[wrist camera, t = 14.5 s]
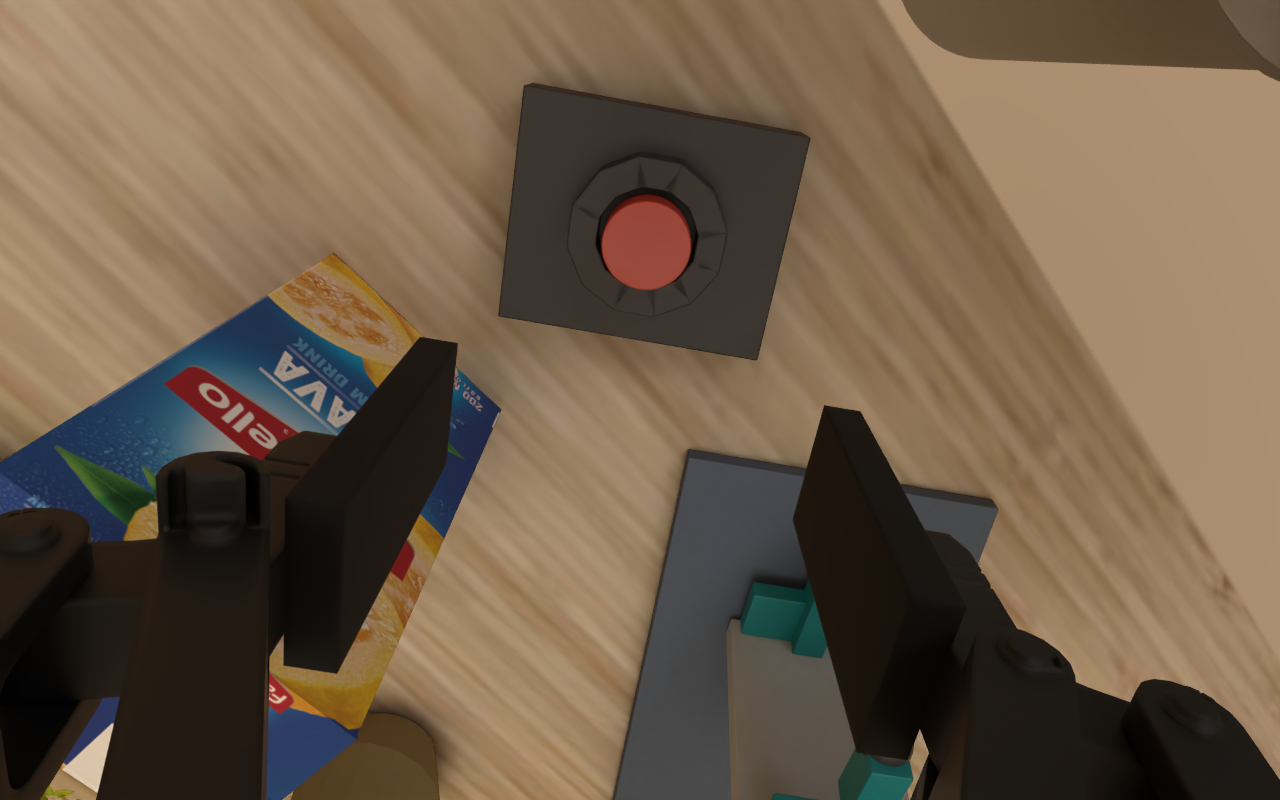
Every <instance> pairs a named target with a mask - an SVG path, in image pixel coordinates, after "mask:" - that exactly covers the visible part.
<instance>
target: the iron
mask: <svg viewBox="0 0 1280 800" xmlns="http://www.w3.org/2000/svg"><path fill="white" fill-rule="evenodd" d="M726 642H727V674H728V706H729V738H730V770H731V800H909V798H908V793H907V789H908V788H909V786H910V785H911V783H912V781H913V775H912V770H911V766H910V761H909V760H910V759H911V757H912V754H913V749H914V745H913V747H912V750H911V753H910V755H909V758H908V760H902V759H896V758H889V757H882V756H876V755H869V754H863V753H857V752H856V748H855V745H854V741H853V737H852V734H851V730H850V727H849V723H848V719H847V716H846V712H845V708H844V705H843V701H842V697H841V694H840V690H839V687H838V683H837V679H836V676H835V672H834V668H833V665H832V661H831V658H830V654H829V650H828V647H827V643H826V639H825V636H824V632H823V629H822V625H821V621H820V618H819V614H818V610H817V607H816V603H815V600H814V596H813V592H812V589H811V585H810V581H809V579H808V582H807V585H806V587H805V590H802V589H795V588H789V587H783V586H777V585H770V584H764V583H758V582H753V584H752V587H751V590H750V593H749V596H748V599H747V602H746V605H745V607H744V610H743V613H742V616H741V619H740V620H736V619H731V620H730V623H729V626H728V629H727V632H726Z"/></svg>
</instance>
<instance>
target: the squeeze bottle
mask: <svg viewBox="0 0 1280 800" xmlns="http://www.w3.org/2000/svg"><path fill="white" fill-rule="evenodd" d="M291 800H440V797H439V786H438V775H437V764H436V755H435V751H434V746H433V742H432V740H431V739H430V738H429V736H428V735H427V734H426V733H425V731H424V730H423V729H422V728H421V727H420V726H418V725H416V724H415V723H413V722H412V721H410V720H408V719H407V718H404V717H400V716H396V715H393V714H389V713H377V714H366V717H365V719H364V721H363V723H362V726H361V728H360V730H359V732H358V739H357V740H356V741H355V742H353V743H352V744H351V745H350V746H348V747H347V748H346V749H345V750H344V751H342V752H341V753H340V754H339V755H337V756H336V757H335V758H334V759H332V760H331V761H330V762H329V763H327V764H326V765H325V766H324V767H322V768H321V769H320V770H319V771H317V772H316V773H315V774H314V775H312V776H311V777H310V778H309V779H307V780H306V781H305V782H304V783H302V784H301V785H300V786H299V787H297V788H296V789H295V790H294V792H293V795H292V798H291Z"/></svg>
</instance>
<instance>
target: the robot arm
mask: <svg viewBox="0 0 1280 800" xmlns="http://www.w3.org/2000/svg"><path fill="white" fill-rule="evenodd" d="M457 345H458V343H453V342H447V341H441V340H435V339H430V338H424V337H419V339H418V340H417V341H416V342H415V343H414V345H413V346H412V347H411V348H410V349H409V351H408V352H407V353H406V354H405V355H404V357H403V358H402V359H401V360H400V361H399V363H398V364H397V365H396V366H395V367H394V368H393V370H392V371H391V372H390V373H389V374H388V376H387V377H386V378H385V379H384V380H383V382H382V383H381V384H380V385H379V386H378V388H377V389H376V390H375V391H374V392H373V394H372V395H371V396H370V397H369V398H368V400H367V401H366V402H365V403H364V404H363V406H362V407H361V408H360V409H359V410H358V412H357V413H356V414H355V415H354V416H353V418H352V419H351V420H350V421H349V422H348V424H347V425H346V426H345V427H344V428H343V430H342V431H341V432H340V433H339V434H338V435H337V436H336V435H330V434H324V433H317V432H311V431H305V430H304V431H302V432H300V433H297V434H295V435H293V436H291V437H288V438H286V439H284V440H282V441H279V442H278V443H277V445H276V446H275V447H274V448H273V449H272V450H271V451H270V452H269V453H268V454H267V455H266V456H265V459H264V460H263V459H262V460H259V459H258V458H256V457H254V456H250V455H247V454H243V453H240V452H229V451H209V452H198V453H193V454H190V455H186V456H183V457H179V458H176V459H174V460H173V461H171V462H169V463H167V464H166V465H164V466H162V468H161V469H160V470H159V472H158V473H157V475H156V476H155V477H156V495H157V513H158V531H159V532H158V536H157V538H154V539H145V540H133V541H100V542H92V541H91V530H90V526H89V524H88V522H87V520H86V518H84V517H82V516H81V515H79V514H77V513H75V512H73V511H68V510H63V509H58V508H35V507H33V508H24V509H22V510H19V509H18V510H13V511H9V512H6V513H3V514H0V800H40V799H41V797H42V796H43V794H44V793H45V791H46V789H47V788H48V786H49V785H50V783H51V781H52V780H53V778H54V777H55V775H56V774H57V772H58V770H59V769H60V767H61V766H62V764H63V762H64V761H65V759H66V758H67V756H68V754H69V753H70V751H71V750H72V748H73V746H74V745H75V743H76V742H77V740H78V739H79V737H80V735H81V734H82V732H83V731H84V729H85V727H86V726H87V724H88V723H89V721H90V719H91V718H92V716H93V715H94V713H95V711H96V710H97V708H98V707H99V705H100V704H101V701H102V698H112V697H120V699H119V703H118V708H117V712H116V716H115V721H114V725H113V729H112V733H111V738H110V742H109V746H108V751H107V755H106V759H105V764H104V768H103V772H102V776H101V781H100V785H99V789H98V794H97V798H96V800H266V793H267V755H268V717H269V675H270V655H271V654H272V652H273V651H274V649H275V647H276V646H277V644H278V643H279V641H280V640H281V638H282V637H283V635H284V649H283V666H289V667H295V668H302V669H309V670H315V671H322V672H328V673H335V674H337V673H338V671H339V669H340V667H341V666H342V664H343V662H344V660H345V658H346V656H347V654H348V652H349V650H350V648H351V646H352V644H353V642H354V640H355V639H356V637H357V635H358V633H359V631H360V629H361V627H362V625H363V623H364V621H365V619H366V617H367V615H368V613H369V612H370V610H371V608H372V606H373V604H374V602H375V600H376V598H377V596H378V594H379V592H380V590H381V588H382V586H383V585H384V583H385V581H386V579H387V577H388V575H389V573H390V571H391V569H392V567H393V565H394V563H395V561H396V559H397V558H398V556H399V554H400V552H401V550H402V548H403V546H404V544H405V542H406V540H407V538H408V536H409V534H410V532H411V531H412V529H413V527H414V525H415V523H416V521H417V519H418V517H419V515H420V513H421V511H422V509H423V507H424V505H425V504H426V502H427V500H428V498H429V496H430V494H431V492H432V490H433V488H434V486H435V484H436V482H437V480H438V478H439V477H440V475H441V473H442V471H443V469H444V467H445V465H446V463H447V452H448V441H449V430H450V420H451V409H452V398H453V388H454V377H455V366H456V356H457ZM793 523H794V527H795V531H796V534H797V538H798V541H799V545H800V549H801V552H802V556H803V560H804V563H805V567H806V570H807V574H808V578H809V581H810V585H811V589H812V592H813V596H814V600H815V603H816V607H817V610H818V614H819V618H820V621H821V625H822V629H823V632H824V636H825V639H826V643H827V647H828V650H829V654H830V658H831V661H832V665H833V668H834V672H835V676H836V679H837V683H838V687H839V690H840V694H841V697H842V701H843V705H844V708H845V712H846V716H847V719H848V723H849V727H850V730H851V734H852V737H853V741H854V745H855V748H856V752H857V753H863V754H869V755H876V756H882V757H889V758H896V759H902V760H908V758H909V755H910V753H911V750H912V747H913V745H914V742H915V740H916V737H917V735H918V732H919V729H920V730H921V733H922V735H923V738H924V741H925V743H926V746H927V749H928V751H929V755H928V757H927V760H926V762H925V765H924V767H923V770H922V772H921V775H920V777H919V780H918V782H917V785H916V787H915V790H914V792H913V795H912V797H911V800H1280V780H1279V778H1278V777H1277V775H1276V774H1275V772H1274V771H1273V769H1272V768H1271V766H1270V765H1269V764H1268V762H1267V761H1266V759H1265V758H1264V756H1263V755H1262V753H1261V752H1260V750H1259V749H1258V748H1257V746H1256V745H1255V743H1254V742H1253V740H1252V739H1251V737H1250V736H1249V734H1248V733H1247V731H1246V730H1245V729H1244V727H1243V726H1242V725H1241V724H1240V723H1239V722H1238V721H1237V719H1236V718H1235V717H1234V716H1233V715H1232V714H1231V713H1230V712H1229V711H1227V710H1226V709H1225V708H1223V707H1222V706H1221V705H1219V704H1218V703H1216V702H1215V700H1214V699H1212V698H1211V697H1209V696H1207V695H1206V694H1204V693H1202V694H1201V693H1199V692H1200V691H1198V690H1196V689H1193V688H1191V687H1188V686H1183V685H1180V684H1177V683H1174V682H1172V681H1165V680H1157V679H1152V680H1148V681H1144V682H1141V684H1140V685H1139V687H1138V688H1137V690H1136V692H1135V694H1134V696H1133V698H1132V700H1131V702H1127V701H1125V700H1122V699H1119V698H1116V697H1113V696H1111V695H1108V694H1105V693H1102V692H1099V691H1097V690H1094V689H1091V688H1088V687H1086V686H1083V685H1081V684H1079V683H1076V680H1075V674H1074V672H1073V669H1072V667H1071V664H1070V663H1069V662H1068V660H1067V659H1066V658H1065V657H1064V656H1063V655H1062V654H1061V653H1060V652H1059V651H1058V650H1057V649H1055V648H1054V647H1053V646H1051V645H1050V644H1048V643H1047V642H1045V641H1044V640H1042V639H1040V638H1038V637H1036V636H1034V635H1032V634H1030V633H1027V632H1025V631H1023V630H1019V629H1017V628H1016V626H1015V625H1014V623H1013V621H1012V620H1011V618H1010V616H1009V615H1008V613H1007V612H1006V610H1005V608H1004V607H1003V605H1002V603H1001V602H1000V600H999V598H998V597H997V595H996V593H995V592H994V590H993V589H990V586H991V585H990V584H989V582H988V580H987V579H986V577H985V575H984V574H981V569H980V567H979V566H978V564H977V562H976V561H975V559H974V557H973V556H972V554H971V552H970V551H969V550H967V549H966V548H965V547H964V546H963V545H961V544H960V543H959V542H958V541H957V540H956V539H954V538H953V537H952V536H951V535H950V534H948V533H941V532H935V531H929V530H925V529H924V527H923V525H922V524H921V522H920V520H919V518H918V516H917V514H916V513H915V511H914V509H913V507H912V505H911V503H910V502H909V500H908V498H907V496H906V494H905V492H904V491H903V489H902V487H901V485H900V483H899V481H898V480H897V478H896V476H895V474H894V472H893V470H892V468H891V467H890V465H889V463H888V461H887V459H886V457H885V456H884V454H883V452H882V450H881V448H880V446H879V445H878V443H877V441H876V439H875V437H874V435H873V434H872V432H871V430H870V428H869V426H868V424H867V423H866V421H865V419H864V417H863V415H862V413H861V411H855V410H849V409H843V408H837V407H831V406H825V405H824V408H823V412H822V415H821V419H820V423H819V426H818V430H817V433H816V437H815V441H814V444H813V448H812V451H811V455H810V459H809V462H808V466H807V469H806V473H805V477H804V480H803V484H802V487H801V491H800V494H799V498H798V502H797V505H796V509H795V512H794V516H793Z"/></svg>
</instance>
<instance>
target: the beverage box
mask: <svg viewBox="0 0 1280 800" xmlns="http://www.w3.org/2000/svg"><path fill="white" fill-rule="evenodd" d="M419 337H423V336H422V335H421V334H420V333H419V332H418V331H416V330H415V329H414V328H413V327H412V326H411V325H410V324H409V323H408V322H407V321H406V320H405V319H404V318H403V317H402V316H400V315H399V314H398V313H397V312H396V311H395V310H394V309H393V308H392V307H391V306H390V305H389V304H388V303H387V302H386V301H384V300H383V299H382V298H381V297H380V296H379V295H378V294H377V293H376V292H375V291H374V290H373V289H372V288H371V287H369V286H368V285H367V284H366V283H365V282H364V281H363V280H362V279H361V278H360V277H359V276H358V275H357V274H356V273H355V272H353V271H352V270H351V269H350V268H349V267H348V266H347V265H346V264H345V263H344V262H343V261H342V260H341V259H340V258H339V257H337V256H336V255H335V254H334V253H333V254H332V255H330V256H329V257H327V258H325V259H324V260H322V261H321V262H319V263H317V264H316V265H314V266H313V267H311V268H310V269H308V270H306V271H305V272H303V273H302V274H300V275H298V276H297V277H295V278H294V279H292V280H290V281H289V282H287V283H286V284H284V285H282V286H281V287H279V288H278V289H276V290H274V291H273V292H271V293H270V294H268V295H266V296H265V297H263V298H262V299H260V300H258V301H257V302H255V303H254V304H252V305H251V306H249V307H247V308H246V309H244V310H243V311H241V312H239V313H238V314H236V315H235V316H233V317H231V318H230V319H228V320H227V321H225V322H223V323H222V324H220V325H219V326H217V327H215V328H214V329H212V330H211V331H209V332H207V333H206V334H204V335H203V336H201V337H199V338H198V339H196V340H195V341H193V342H191V343H190V344H188V345H187V346H185V347H184V348H182V349H180V350H179V351H177V352H176V353H174V354H172V355H171V356H169V357H168V358H166V359H164V360H163V361H161V362H160V363H158V364H156V365H155V366H153V367H152V368H150V369H148V370H147V371H145V372H144V373H142V374H140V375H139V376H137V377H136V378H134V379H132V380H131V381H129V382H128V383H126V384H124V385H123V386H121V387H120V388H118V389H117V390H115V391H113V392H112V393H110V394H109V395H107V396H105V397H104V398H102V399H101V400H99V401H97V402H96V403H94V404H93V405H91V406H89V407H88V408H86V409H85V410H83V411H81V412H80V413H78V414H77V415H75V416H73V417H72V418H70V419H69V420H67V421H65V422H64V423H62V424H61V425H59V426H58V427H56V428H54V429H53V430H51V431H50V432H48V433H46V434H45V435H43V436H42V437H40V438H38V439H37V440H35V441H34V442H32V443H30V444H29V445H27V446H26V447H24V448H22V449H21V450H19V451H18V452H16V453H14V454H13V455H11V456H10V457H8V458H6V459H5V460H3V461H2V462H0V514H3V513H6V512H9V511H13V510H18V509H19V510H22V509H24V508H33V507H35V508H58V509H63V510H68V511H73V512H75V513H77V514H79V515H81V516H82V517H84V518H86V520H87V522H88V524H89V526H90V530H91V541H92V542H100V541H133V540H145V539H154V538H157V536H158V532H159V531H158V513H157V495H156V477H155V476H156V475H157V473H158V472H159V470H160V469H161V468H162V466H164V465H166V464H167V463H169V462H171V461H173V460H174V459H176V458H179V457H183V456H186V455H190V454H193V453H198V452H209V451H229V452H240V453H243V454H247V455H250V456H254V457H256V458H258V459H259V460H262V459H263V460H264V459H265V456H266V455H267V454H268V453H269V452H270V451H271V450H272V449H273V448H274V447H275V446H276V445H277V443H278V442H279V441H282V440H284V439H286V438H288V437H291V436H293V435H295V434H297V433H300V432H302V431H304V430H305V431H311V432H317V433H324V434H330V435H336V436H337V435H338V434H339V433H340V432H341V431H342V430H343V428H344V427H345V426H346V425H347V424H348V422H349V421H350V420H351V419H352V418H353V416H354V415H355V414H356V413H357V412H358V410H359V409H360V408H361V407H362V406H363V404H364V403H365V402H366V401H367V400H368V398H369V397H370V396H371V395H372V394H373V392H374V391H375V390H376V389H377V388H378V386H379V385H380V384H381V383H382V382H383V380H384V379H385V378H386V377H387V376H388V374H389V373H390V372H391V371H392V370H393V368H394V367H395V366H396V365H397V364H398V363H399V361H400V360H401V359H402V358H403V357H404V355H405V354H406V353H407V352H408V351H409V349H410V348H411V347H412V346H413V345H414V343H415V342H416V341H417V340H418V339H419ZM500 411H501V409H500V408H499V407H498V406H497V405H496V404H494V403H493V402H492V401H491V400H490V399H489V398H488V397H487V396H486V395H485V394H484V393H483V392H482V391H481V390H480V389H478V388H477V387H476V386H475V385H474V384H473V383H472V382H471V381H470V380H469V379H468V378H467V377H466V376H465V375H463V374H462V373H461V372H460V371H459V370H458V369H457V368H456V367H455V377H454V388H453V398H452V409H451V420H450V430H449V441H448V452H447V463H446V465H445V467H444V469H443V471H442V473H441V475H440V477H439V478H438V480H437V482H436V484H435V486H434V488H433V490H432V492H431V494H430V496H429V498H428V500H427V502H426V504H425V505H424V507H423V509H422V511H421V513H420V515H419V517H418V519H417V521H416V523H415V525H414V527H413V529H412V531H411V532H410V534H409V536H408V538H407V540H406V542H405V544H404V546H403V548H402V550H401V552H400V554H399V556H398V558H397V559H396V561H395V563H394V565H393V567H392V569H391V571H390V573H389V575H388V577H387V579H386V581H385V583H384V585H383V586H382V588H381V590H380V592H379V594H378V596H377V598H376V600H375V602H374V604H373V606H372V608H371V610H370V612H369V613H368V615H367V617H366V619H365V621H364V623H363V625H362V627H361V629H360V631H359V633H358V635H357V637H356V639H355V640H354V642H353V644H352V646H351V648H350V650H349V652H348V654H347V656H346V658H345V660H344V662H343V664H342V666H341V667H340V669H339V671H338V673H337V674H335V673H328V672H322V671H315V670H309V669H302V668H295V667H289V666H283V649H284V635H283V637H282V638H281V640H280V641H279V643H278V644H277V646H276V647H275V649H274V651H273V652H272V654H271V655H270V675H269V717H268V755H267V793H266V800H282V799H284V798H285V797H286V796H287V795H289V794H290V793H291V792H292V791H294V790H295V789H296V788H297V787H299V786H300V785H301V784H302V783H304V782H305V781H306V780H307V779H309V778H310V777H311V776H312V775H314V774H315V773H316V772H317V771H319V770H320V769H321V768H322V767H324V766H325V765H326V764H327V763H329V762H330V761H331V760H332V759H334V758H335V757H336V756H337V755H339V754H340V753H341V752H342V751H344V750H345V749H346V748H347V747H348V746H350V745H351V744H352V743H353V742H355V741H356V740H357V739H358V732H359V730H360V728H361V726H362V723H363V721H364V719H365V717H366V714H367V712H368V710H369V707H370V705H371V703H372V701H373V698H374V696H375V694H376V692H377V689H378V687H379V685H380V683H381V680H382V678H383V676H384V674H385V671H386V669H387V667H388V665H389V662H390V660H391V658H392V655H393V653H394V651H395V649H396V646H397V644H398V642H399V640H400V637H401V635H402V633H403V631H404V628H405V626H406V624H407V622H408V619H409V617H410V615H411V613H412V610H413V608H414V606H415V603H416V601H417V599H418V597H419V594H420V592H421V590H422V588H423V585H424V583H425V581H426V579H427V576H428V574H429V572H430V570H431V567H432V565H433V563H434V561H435V558H436V556H437V554H438V551H439V549H440V547H441V545H442V542H443V540H444V538H445V536H446V533H447V531H448V529H449V527H450V524H451V522H452V520H453V518H454V515H455V513H456V511H457V509H458V506H459V504H460V502H461V499H462V497H463V495H464V493H465V490H466V488H467V486H468V484H469V481H470V479H471V477H472V475H473V472H474V470H475V468H476V466H477V463H478V461H479V459H480V457H481V454H482V452H483V450H484V447H485V445H486V443H487V441H488V438H489V436H490V434H491V432H492V429H493V427H494V425H495V423H496V420H497V418H498V416H499V414H500ZM119 699H120V697H112V698H102V701H101V704H100V705H99V707H98V708H97V710H96V711H95V713H94V715H93V716H92V718H91V719H90V721H89V723H88V724H87V726H86V727H85V729H84V731H83V732H82V734H81V735H80V737H79V739H78V740H77V742H76V743H75V745H74V746H73V748H72V750H71V751H70V753H69V754H68V756H67V758H66V759H65V761H64V762H63V764H62V766H61V767H60V769H62V770H63V771H65V772H66V773H68V774H69V775H71V776H73V777H74V778H76V779H77V780H79V781H80V782H82V783H83V784H85V785H86V786H88V787H89V788H91V789H92V790H94V791H95V792H97V793H98V789H99V785H100V781H101V776H102V772H103V768H104V764H105V759H106V755H107V751H108V746H109V742H110V738H111V733H112V729H113V725H114V721H115V716H116V712H117V708H118V703H119Z"/></svg>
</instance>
